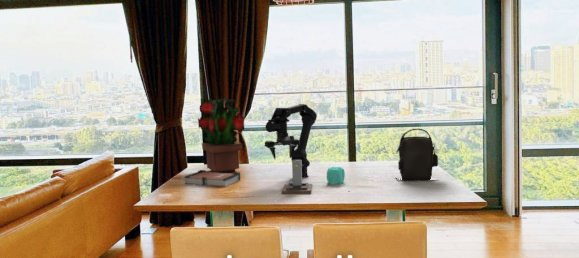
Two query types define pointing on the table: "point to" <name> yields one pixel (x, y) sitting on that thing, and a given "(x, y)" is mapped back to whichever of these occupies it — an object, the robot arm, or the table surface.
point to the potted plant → (221, 134)
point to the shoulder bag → (416, 157)
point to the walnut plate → (297, 189)
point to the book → (212, 178)
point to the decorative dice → (335, 175)
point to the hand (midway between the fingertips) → (282, 158)
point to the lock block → (297, 173)
